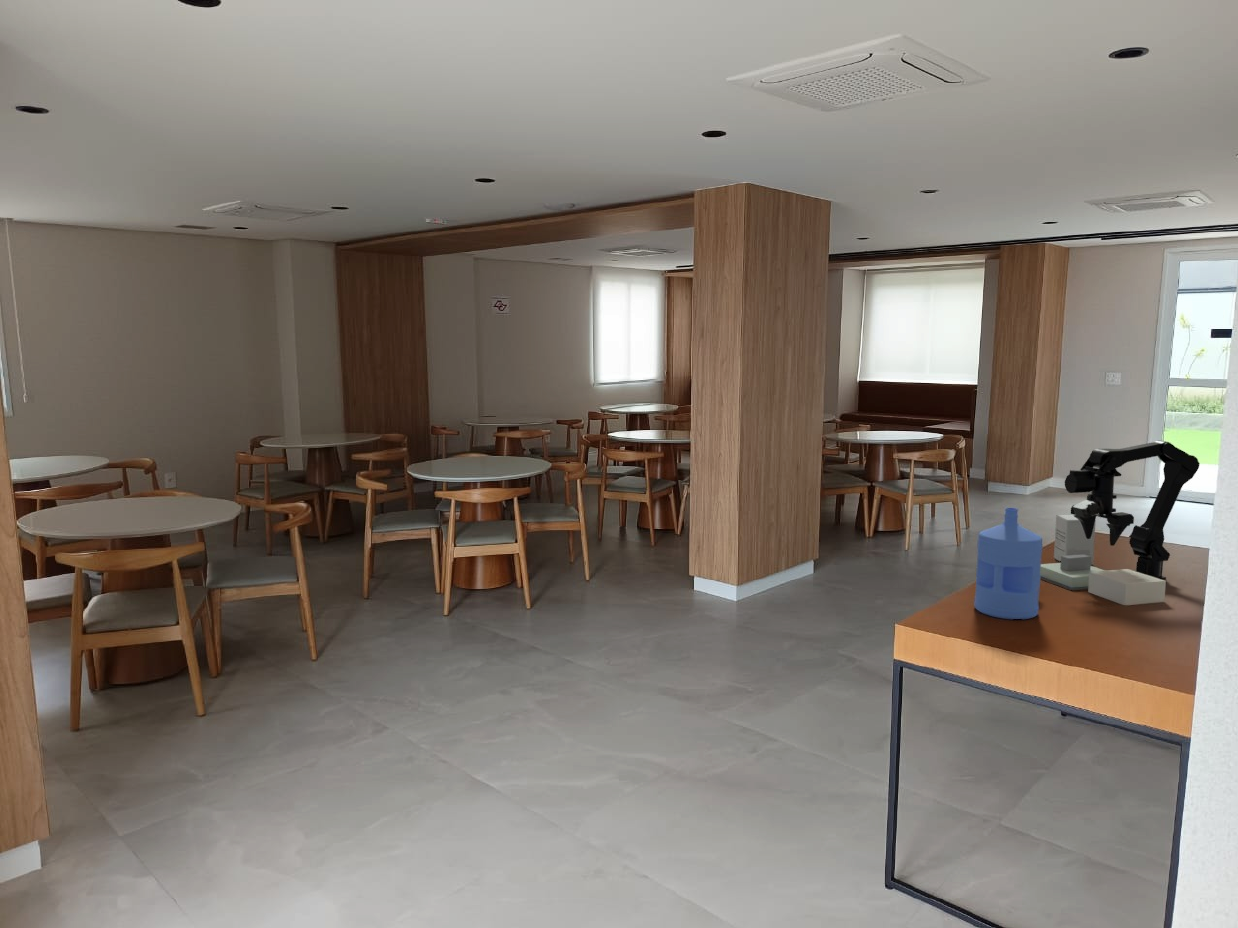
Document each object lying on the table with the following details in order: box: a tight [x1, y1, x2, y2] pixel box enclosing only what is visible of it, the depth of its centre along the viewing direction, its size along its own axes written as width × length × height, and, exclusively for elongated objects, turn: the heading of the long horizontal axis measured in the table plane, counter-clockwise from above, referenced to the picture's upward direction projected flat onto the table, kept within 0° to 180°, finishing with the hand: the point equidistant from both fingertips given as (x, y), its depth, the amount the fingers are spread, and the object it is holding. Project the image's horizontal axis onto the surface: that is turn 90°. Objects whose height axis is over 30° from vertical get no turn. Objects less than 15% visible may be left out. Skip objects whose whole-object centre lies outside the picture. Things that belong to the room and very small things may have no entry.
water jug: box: [973, 507, 1043, 620], centre depth 221 cm, size 16×16×28 cm
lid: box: [1040, 554, 1106, 588], centre depth 251 cm, size 15×15×7 cm
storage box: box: [1087, 568, 1167, 606], centre depth 234 cm, size 13×13×6 cm
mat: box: [1040, 576, 1089, 591], centre depth 252 cm, size 18×18×1 cm
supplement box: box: [1053, 514, 1097, 566], centre depth 273 cm, size 9×9×15 cm
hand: (1100, 542), depth 251 cm, fingers open, 9 cm apart
